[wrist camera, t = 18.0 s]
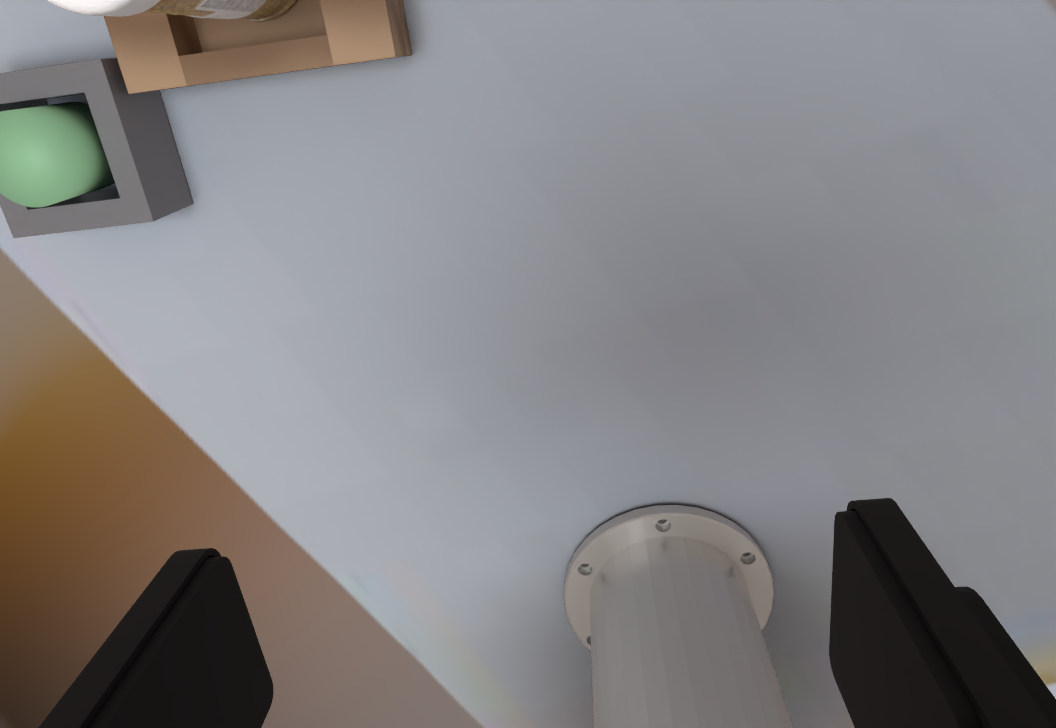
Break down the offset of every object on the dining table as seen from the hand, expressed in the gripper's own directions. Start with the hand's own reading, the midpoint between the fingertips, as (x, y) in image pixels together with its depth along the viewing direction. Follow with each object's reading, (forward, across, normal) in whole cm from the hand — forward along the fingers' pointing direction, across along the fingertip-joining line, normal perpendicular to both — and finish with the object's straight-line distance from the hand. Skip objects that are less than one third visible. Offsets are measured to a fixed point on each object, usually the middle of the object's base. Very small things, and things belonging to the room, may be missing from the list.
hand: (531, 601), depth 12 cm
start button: (+27, +22, -6) cm, 35 cm away
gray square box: (+28, +22, -6) cm, 36 cm away
